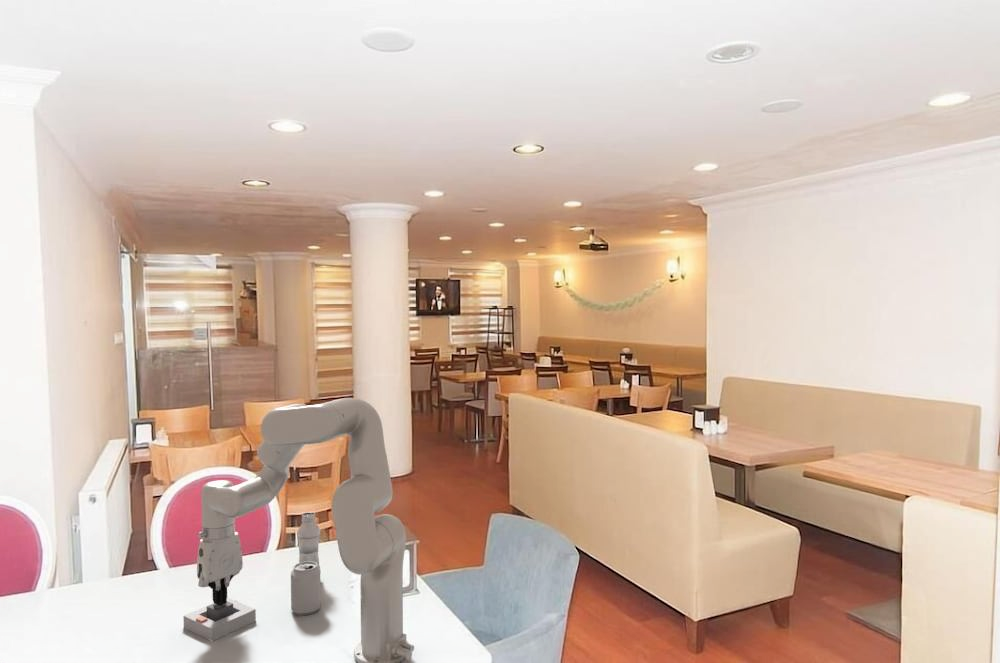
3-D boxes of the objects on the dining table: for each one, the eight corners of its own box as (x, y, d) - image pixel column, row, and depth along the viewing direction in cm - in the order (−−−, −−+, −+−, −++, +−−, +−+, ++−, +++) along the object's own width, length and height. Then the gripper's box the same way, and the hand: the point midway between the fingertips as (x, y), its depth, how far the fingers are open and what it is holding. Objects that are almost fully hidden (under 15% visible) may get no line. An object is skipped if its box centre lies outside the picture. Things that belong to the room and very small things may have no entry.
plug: (233, 623, 161) (233, 603, 161) (217, 630, 158) (217, 610, 157) (222, 618, 164) (222, 599, 163) (206, 626, 160) (206, 605, 160)
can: (312, 617, 164) (311, 571, 163) (285, 615, 165) (285, 569, 165) (325, 604, 171) (325, 560, 171) (300, 602, 173) (299, 558, 172)
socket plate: (255, 620, 162) (255, 607, 162) (212, 641, 152) (211, 626, 152) (227, 608, 169) (227, 595, 169) (183, 627, 159) (183, 613, 159)
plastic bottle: (292, 585, 183) (291, 516, 182) (306, 576, 190) (305, 509, 189) (312, 588, 181) (311, 518, 181) (325, 578, 188) (324, 511, 187)
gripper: (199, 543, 152) (200, 619, 152) (254, 525, 164) (255, 595, 165) (181, 537, 156) (183, 611, 156) (236, 520, 168) (237, 589, 169)
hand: (220, 603), depth 160 cm, fingers closed
